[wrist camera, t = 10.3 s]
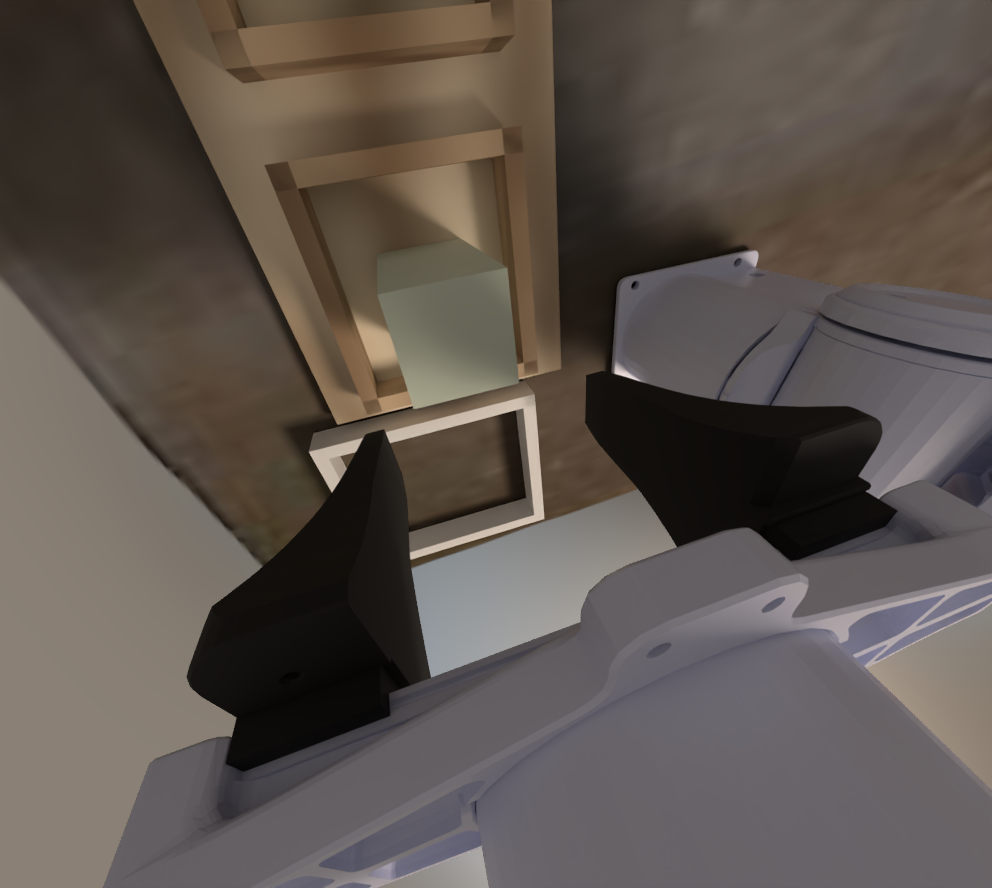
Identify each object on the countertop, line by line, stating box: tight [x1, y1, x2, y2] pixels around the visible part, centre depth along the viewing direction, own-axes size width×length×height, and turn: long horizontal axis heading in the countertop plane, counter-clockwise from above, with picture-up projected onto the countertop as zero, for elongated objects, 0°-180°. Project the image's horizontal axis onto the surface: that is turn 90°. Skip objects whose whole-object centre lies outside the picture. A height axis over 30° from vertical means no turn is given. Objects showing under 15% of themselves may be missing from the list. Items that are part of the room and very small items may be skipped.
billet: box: [377, 238, 519, 409], centre depth 15 cm, size 4×4×8 cm
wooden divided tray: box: [133, 0, 561, 425], centre depth 14 cm, size 14×26×3 cm, turn 8°
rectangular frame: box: [309, 381, 544, 560], centre depth 26 cm, size 14×12×2 cm
